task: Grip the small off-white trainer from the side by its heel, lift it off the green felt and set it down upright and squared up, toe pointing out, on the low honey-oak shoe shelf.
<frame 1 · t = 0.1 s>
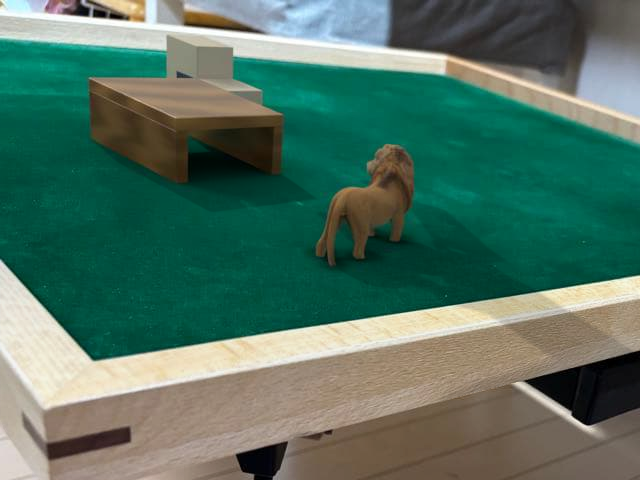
shoe shelf: (187, 167, 91), on the table
trainer: (214, 111, 113), on the table
lion figurine: (362, 255, 79), on the table
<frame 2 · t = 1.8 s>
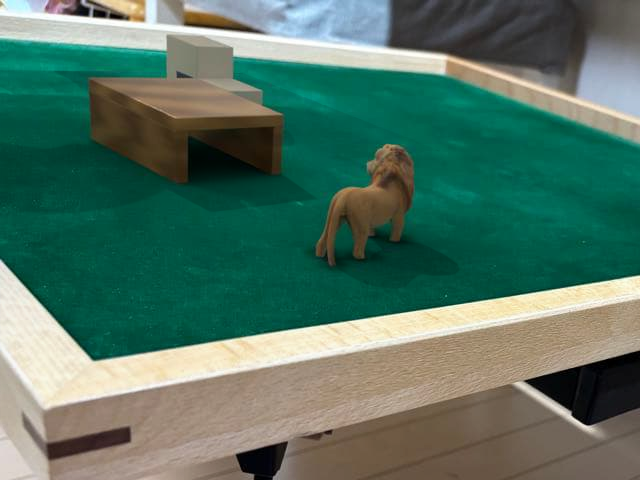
nothing on the table moved.
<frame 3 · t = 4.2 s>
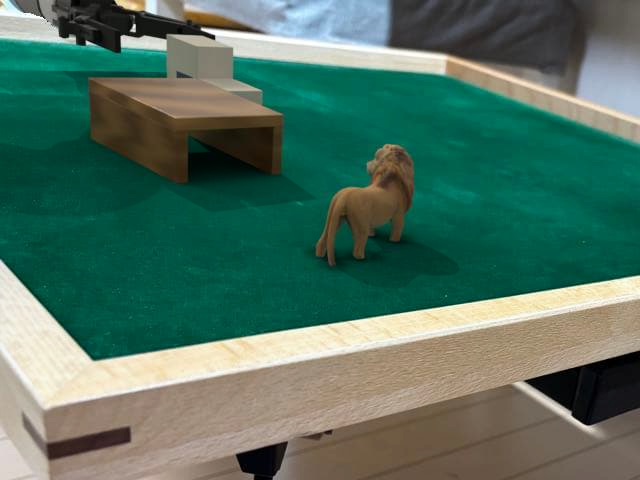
hand: (167, 43, 115), 6 cm above the table, tool horizontal, fingers open, 13 cm apart
nothing on the table moved.
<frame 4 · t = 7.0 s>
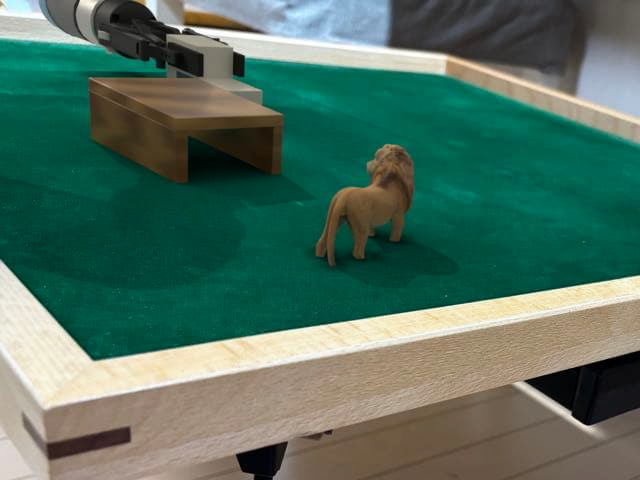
hand: (221, 65, 110), 6 cm above the table, tool horizontal, fingers closed on trainer, 5 cm apart
trainer: (214, 111, 113), on the table, touching gripper
everything else where it was.
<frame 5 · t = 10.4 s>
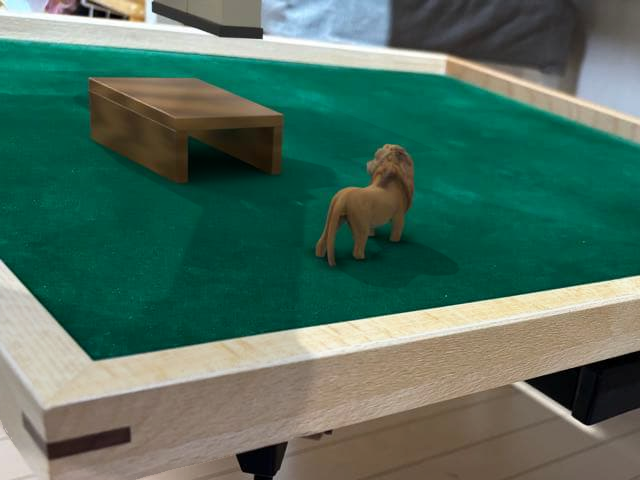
trainer: (206, 25, 100), point 12 cm above the table, touching gripper
everything else where it was.
when the fingers open (13 cm above the table, at t = 14.2 s): trainer stays where it is, resting on shoe shelf.
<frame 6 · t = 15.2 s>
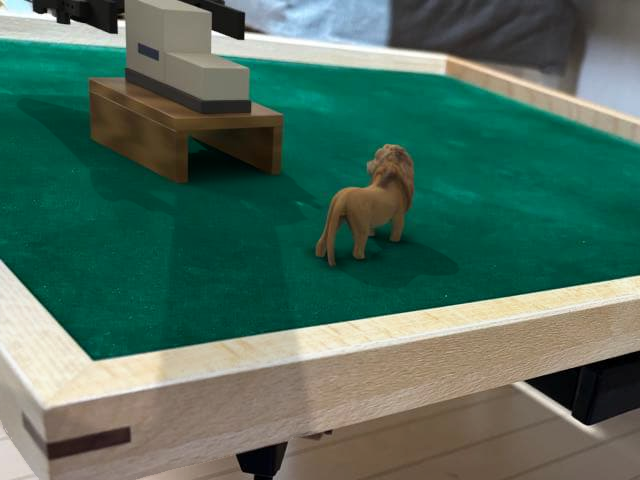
hand: (181, 22, 85), 14 cm above the table, tool horizontal, fingers open, 13 cm apart
trainer: (187, 96, 88), point 7 cm above the table, touching shoe shelf
everything else where it was.
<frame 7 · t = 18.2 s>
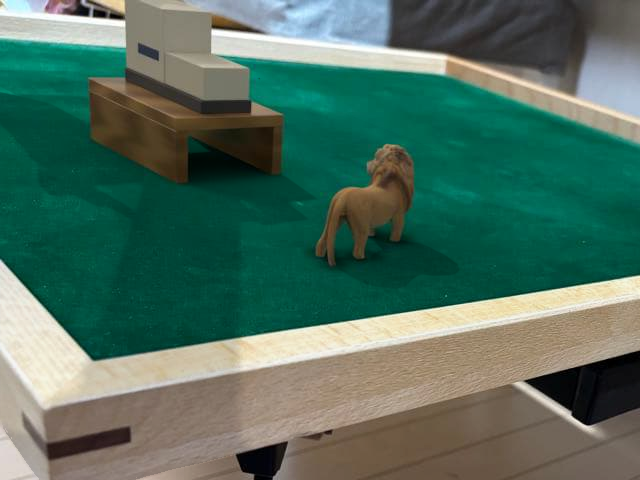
nothing on the table moved.
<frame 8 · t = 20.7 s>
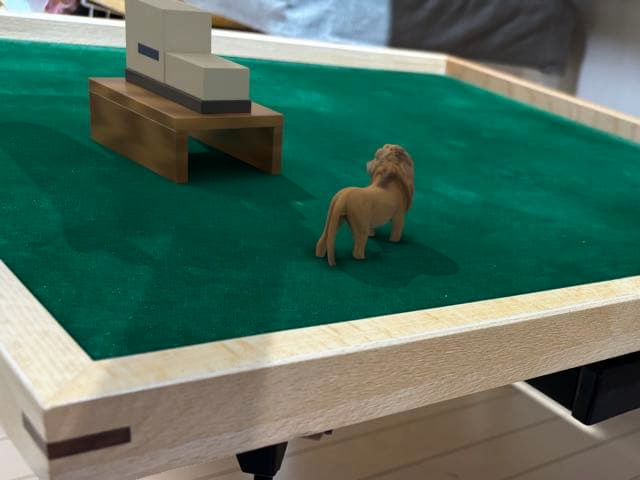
nothing on the table moved.
at the end: trainer inside the target area on the shoe shelf (0.0 cm from its centre), point 7.2 cm above the shoe shelf's base; trainer tilted 0°; the gripper is holding nothing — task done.
